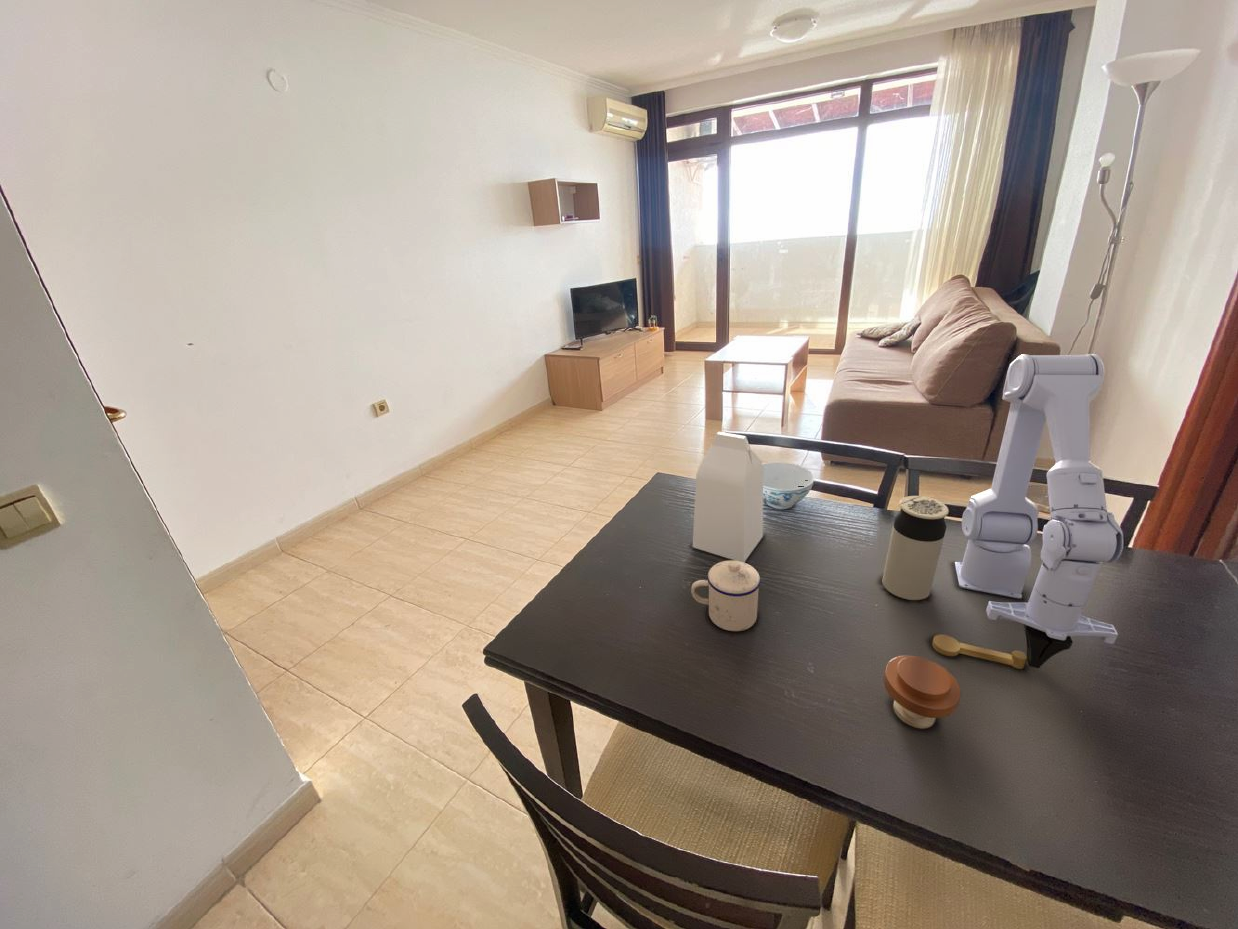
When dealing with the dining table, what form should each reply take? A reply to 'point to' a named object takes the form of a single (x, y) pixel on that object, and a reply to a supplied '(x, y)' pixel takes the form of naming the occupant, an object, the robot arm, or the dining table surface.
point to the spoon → (977, 651)
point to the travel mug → (915, 547)
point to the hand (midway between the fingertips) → (1032, 662)
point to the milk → (729, 499)
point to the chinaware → (785, 484)
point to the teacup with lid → (731, 595)
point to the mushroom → (921, 690)
